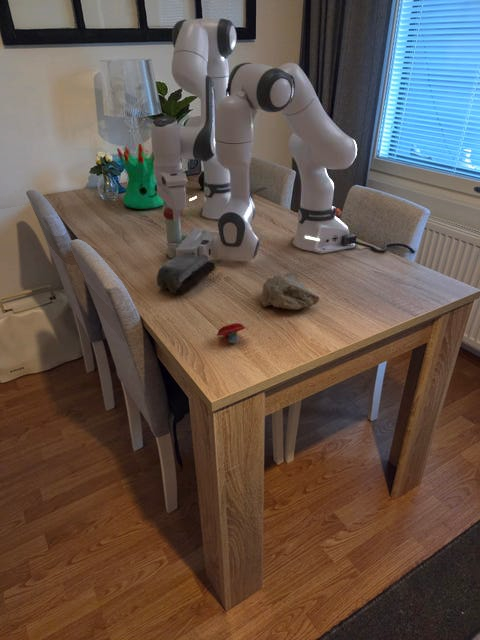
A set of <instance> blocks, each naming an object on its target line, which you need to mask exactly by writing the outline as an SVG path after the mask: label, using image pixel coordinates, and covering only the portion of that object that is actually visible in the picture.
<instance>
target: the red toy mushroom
mask: <svg viewBox="0 0 480 640" xmlns="http://www.w3.org/2000/svg"><path fill="white" fill-rule="evenodd" d="M245 329H246V326H244V325H243V324H241V323H238V322H236V323H229V324H227V325H225V326H222V327H221V328H220V329H218V331H217V333H216V336H217V337H222V336H228V342H229V343H230V344H233V345H235V344H236V343H237V342H239V337H238V336H237V333H238V332H240V331H243V330H245Z"/></svg>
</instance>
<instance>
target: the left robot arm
mask: <svg viewBox="0 0 480 640" xmlns="http://www.w3.org/2000/svg"><path fill="white" fill-rule="evenodd" d="M171 40H172V41H171V42H172V45H173V53H172V54H173V55H172V59H171V60H172V61H171V75H172V78H173V80H174V82H175V83H176V84H177V85H178V87H180V88H181V89H182V90H184V91H185V92H187V93H188V94H191V95H193V96H195V97H197V98H198V99H199V100H200V115H196V116H192V117H189V118H188V119H187V120H186V122H185V125H184V126H183V125H179V124H178V120H177V119H176V118H175V117H172V116H162V117H157V118H155V119H154V120H153V121H152V122H151V131H150V141H151V143H150V144H151V153H152V152H153V154H154V163H153V165H154V176H155V181H157V193H158V196H159V197H160V198H161V199H162V201H163V205H162V206H163V208H164V209H163V211H164V210H166V209H172V210H173V221H174V222H179V215H180V211H181V212H184V211H185V209H186V206H187V203H186V201H187V200H186V199H187V194H186V193H187V192H186V191H187V190H186V186H187V183H188V182H187V178H186V176H185V173H184V170H183V161H182V159H184V160H195V161H200V162H202V167H203V172H204V189H203V193H204V194H203V195H204V199H203V206H202V207H203V208H202V211H201V216H202V217H204V218H205V219H210V220H219V218H220V216H221V214H222V213H223V211H224V209H225V208H226V206H227V204H228V201H229V199H230V196H231V188H230V173H229V170H228V169H226V168H224V167H223V166H222V165H221V164H220V163H219V162H218V160H217V155H216V150H215V121H216V113H217V107H218V104H219V102H220V101H221V100H222V99H223V98H224V97H227V96H226V89H227V84H228V79H229V76H230V70H229V69H230V67H229V60H228V58H229V56H230V55H232V53H233V52H234V51H235V49H236V45H237V44H236V43H237V31H236V27H235V25H234V23H233V22H232V21H231V20H230V19H226V18H213V17H202V18H193V19H182V20H178V21H177V22H176V23H175V24H174V25H173V27H172V31H171ZM228 96H229V95H228ZM262 189H263V188H261V187H260V188H257V189H255V190H253V191H250V196H251V199H252V198H253V194H254V193H256V192H259V191H261V190H262ZM197 198H198V197H197V195H195V196H194V197H192V198H189V202H191V201H194V200H195V199H197Z"/></svg>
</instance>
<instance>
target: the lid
mask: <svg viewBox="0 0 480 640" xmlns="http://www.w3.org/2000/svg"><path fill="white" fill-rule="evenodd" d="M162 213H163V217H164V219H165V218H168V219H173V210H172V209H166V210H164V209H163V212H162ZM179 217H180V218H181V217H182V211H180V215H179Z"/></svg>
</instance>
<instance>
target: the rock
mask: <svg viewBox="0 0 480 640" xmlns="http://www.w3.org/2000/svg"><path fill="white" fill-rule="evenodd" d="M194 255H195V253H194V252H193V253H187V252H185V253H183V254H181V255H179V256H176V257H175V258H170V259H169V260H167V261H166V262H165V263H164V264H162V265H161V267H159V269H158V271H157V274H156V284H157V286H158V287H159V288H160V289H163V290H164V289H168V290H169V291H170V292H171V293H172V294H175V295H181V294H182V293H183V292H186V291H188V290H190V289H192V288H194V287H196V286H197V285H198V284H200V282H201V281H202V280H203V279H204V278H205V277H208V276H209V275H210V274H211V273H212V272H213V271H214V270H215V268H216V265H215V263H214V262H213V261H208V257H207V256H206V255H202V256H198V257H195V256H194Z"/></svg>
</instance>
